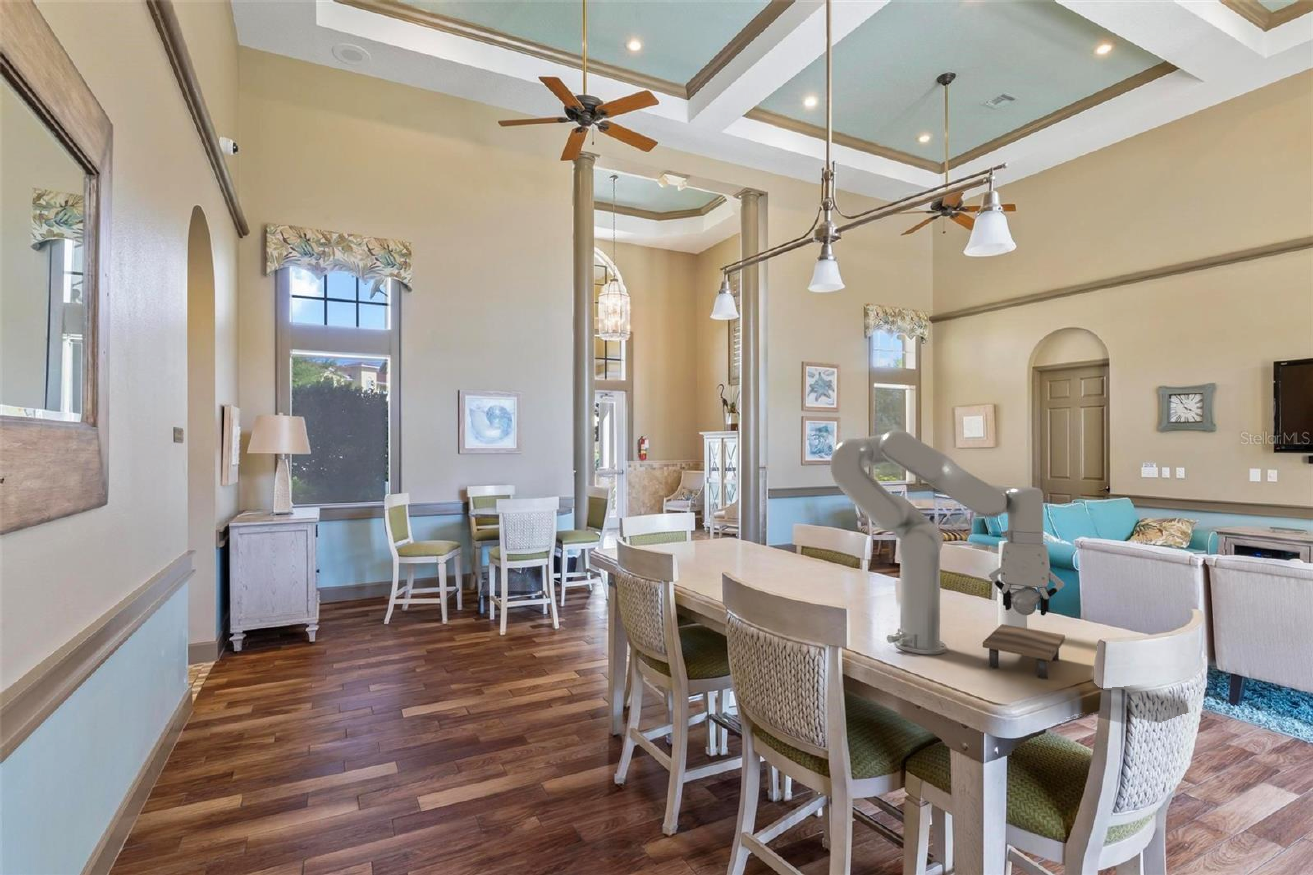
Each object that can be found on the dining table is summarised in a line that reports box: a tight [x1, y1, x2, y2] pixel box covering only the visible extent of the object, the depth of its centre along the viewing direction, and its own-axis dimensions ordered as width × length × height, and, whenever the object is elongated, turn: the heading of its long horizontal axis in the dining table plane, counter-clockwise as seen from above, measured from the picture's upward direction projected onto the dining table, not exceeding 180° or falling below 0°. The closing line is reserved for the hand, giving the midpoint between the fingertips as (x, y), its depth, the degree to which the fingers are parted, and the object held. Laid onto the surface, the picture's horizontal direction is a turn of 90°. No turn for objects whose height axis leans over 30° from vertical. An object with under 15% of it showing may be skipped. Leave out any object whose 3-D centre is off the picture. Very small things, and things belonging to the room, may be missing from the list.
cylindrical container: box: [997, 540, 1028, 629], centre depth 180 cm, size 7×7×25 cm
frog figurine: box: [1010, 586, 1042, 616], centre depth 154 cm, size 6×7×7 cm
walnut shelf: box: [982, 624, 1066, 680], centre depth 154 cm, size 20×14×6 cm
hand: (1025, 611), depth 154 cm, fingers closed on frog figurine, 6 cm apart
